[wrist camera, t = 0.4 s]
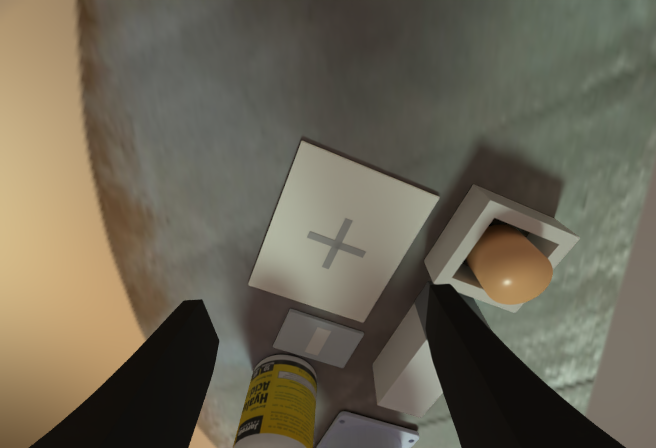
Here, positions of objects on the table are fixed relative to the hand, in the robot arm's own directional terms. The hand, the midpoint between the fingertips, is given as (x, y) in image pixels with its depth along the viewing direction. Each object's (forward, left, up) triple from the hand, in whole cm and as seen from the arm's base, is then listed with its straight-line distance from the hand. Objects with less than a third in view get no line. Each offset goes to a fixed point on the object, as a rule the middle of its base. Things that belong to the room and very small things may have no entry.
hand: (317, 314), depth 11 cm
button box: (+1, -11, -11) cm, 16 cm away
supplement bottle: (-17, -3, -11) cm, 20 cm away
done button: (+1, -11, -10) cm, 15 cm away
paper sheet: (-3, -2, -11) cm, 12 cm away
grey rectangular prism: (-8, -11, -11) cm, 18 cm away
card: (-12, -4, -11) cm, 17 cm away
